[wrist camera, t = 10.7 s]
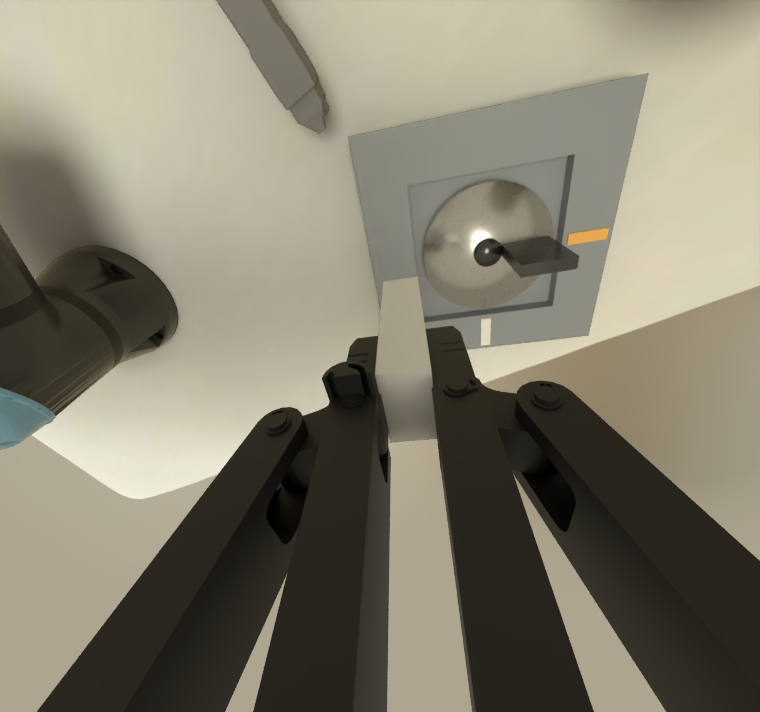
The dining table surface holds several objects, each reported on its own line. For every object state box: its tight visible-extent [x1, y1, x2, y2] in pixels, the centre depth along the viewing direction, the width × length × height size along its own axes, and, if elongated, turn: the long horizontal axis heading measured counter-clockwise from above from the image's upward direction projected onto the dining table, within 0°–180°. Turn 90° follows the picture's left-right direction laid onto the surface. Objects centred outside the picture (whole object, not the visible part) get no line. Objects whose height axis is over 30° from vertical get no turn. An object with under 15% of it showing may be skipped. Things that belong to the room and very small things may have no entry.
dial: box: [423, 179, 579, 308], centre depth 33 cm, size 14×14×8 cm
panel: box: [348, 73, 648, 350], centre depth 37 cm, size 26×26×3 cm
